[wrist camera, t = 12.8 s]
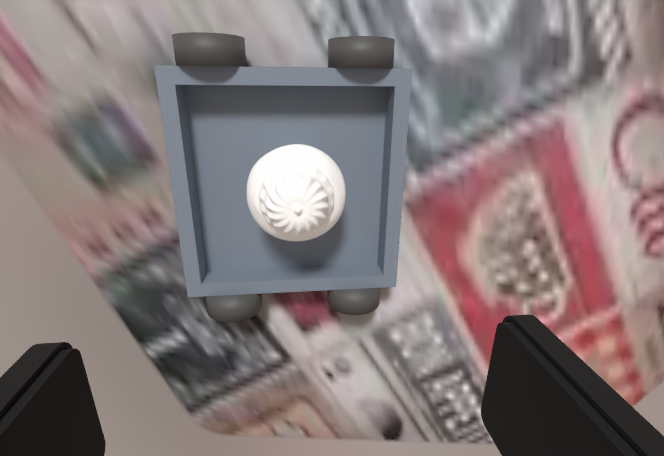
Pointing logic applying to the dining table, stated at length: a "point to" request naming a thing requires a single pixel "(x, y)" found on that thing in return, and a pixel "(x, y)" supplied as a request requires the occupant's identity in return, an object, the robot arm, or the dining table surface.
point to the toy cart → (273, 132)
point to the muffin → (296, 192)
